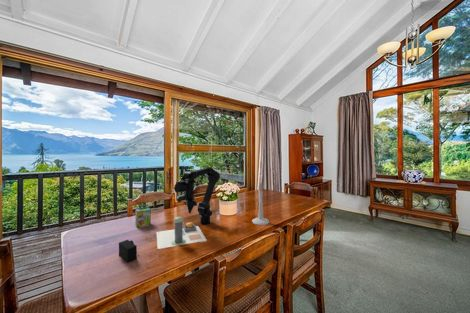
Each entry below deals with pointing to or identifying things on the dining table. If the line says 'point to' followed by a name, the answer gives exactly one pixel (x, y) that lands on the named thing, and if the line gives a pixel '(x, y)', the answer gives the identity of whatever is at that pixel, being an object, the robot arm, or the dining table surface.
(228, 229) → the dining table surface
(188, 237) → the colouring board
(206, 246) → the dining table surface
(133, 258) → the digital camera
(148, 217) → the chalk box
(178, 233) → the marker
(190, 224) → the button
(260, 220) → the candlestick
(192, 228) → the button housing
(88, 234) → the dining table surface
